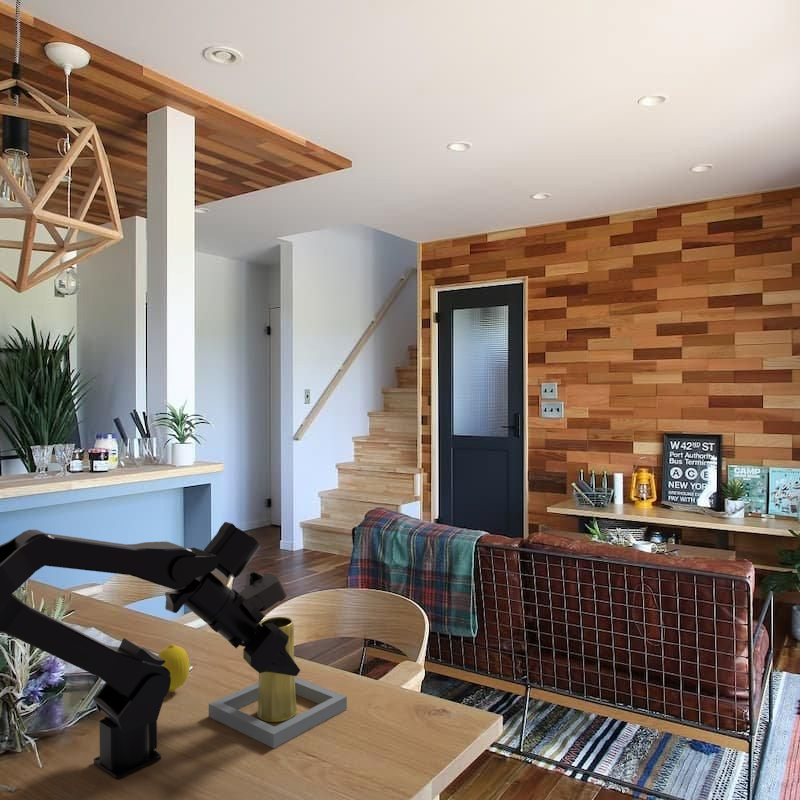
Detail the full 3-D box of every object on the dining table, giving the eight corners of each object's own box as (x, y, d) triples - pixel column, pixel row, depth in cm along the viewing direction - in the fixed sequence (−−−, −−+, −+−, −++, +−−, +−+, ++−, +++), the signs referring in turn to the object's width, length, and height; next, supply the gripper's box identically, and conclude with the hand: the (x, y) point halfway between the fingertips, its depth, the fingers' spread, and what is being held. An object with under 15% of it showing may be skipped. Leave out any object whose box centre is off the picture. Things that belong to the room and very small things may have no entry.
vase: (301, 704, 109) (300, 616, 108) (291, 723, 103) (290, 629, 102) (264, 703, 109) (263, 615, 109) (251, 722, 103) (250, 628, 103)
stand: (273, 748, 96) (273, 734, 96) (208, 716, 105) (208, 703, 105) (346, 709, 107) (346, 696, 107) (282, 683, 117) (282, 671, 117)
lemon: (179, 700, 110) (178, 651, 110) (148, 697, 111) (147, 649, 111) (195, 686, 116) (195, 639, 116) (166, 683, 117) (165, 637, 117)
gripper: (274, 574, 96) (345, 638, 102) (234, 548, 112) (298, 604, 118) (219, 641, 92) (296, 703, 98) (186, 603, 108) (254, 659, 114)
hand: (286, 662), depth 107 cm, fingers open, 9 cm apart
